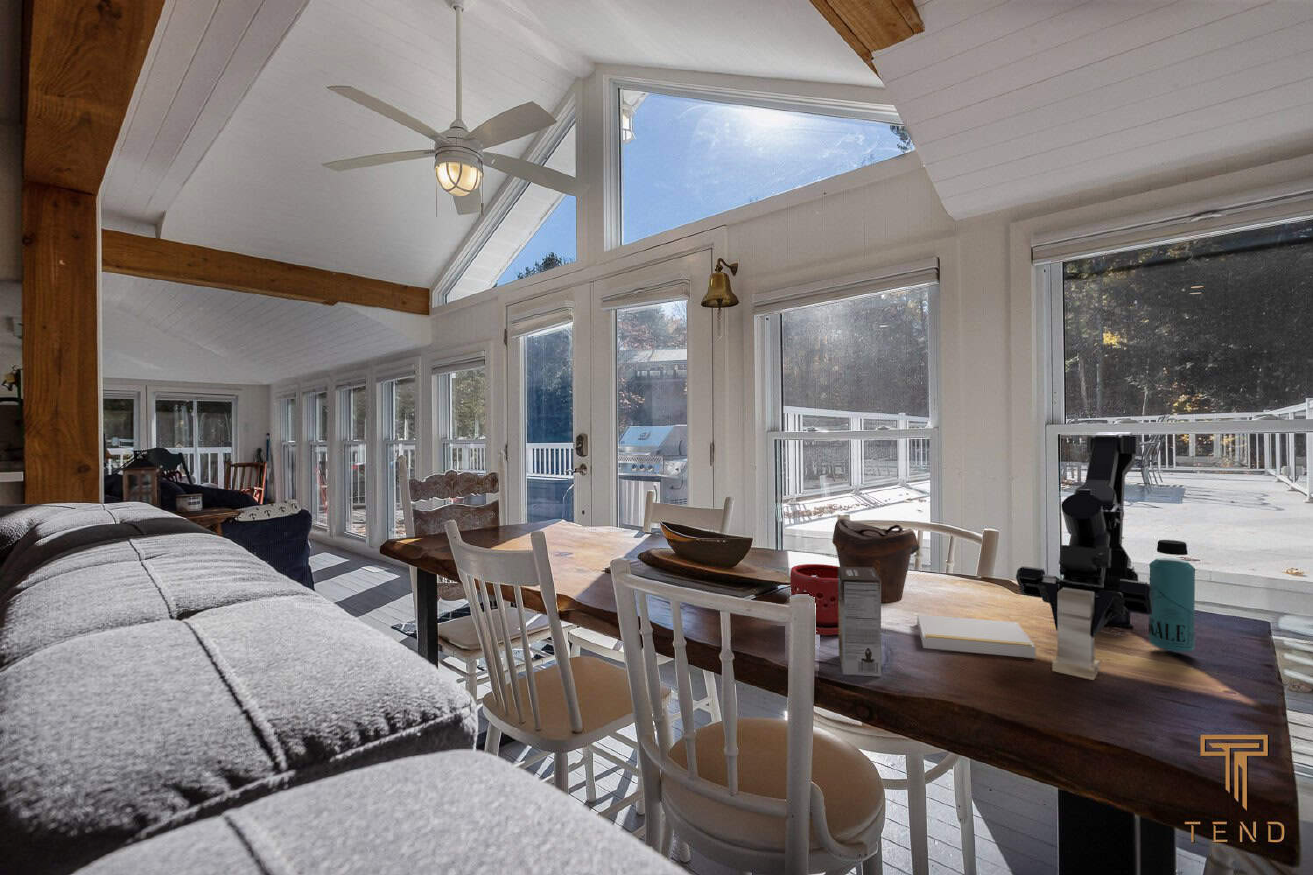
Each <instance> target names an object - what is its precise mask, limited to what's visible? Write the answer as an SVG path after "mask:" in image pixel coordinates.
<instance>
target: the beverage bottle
mask: <svg viewBox="0 0 1313 875" xmlns="http://www.w3.org/2000/svg"><path fill="white" fill-rule="evenodd" d="M1156 546H1157V547H1156V552H1157V553H1160V554H1165V555H1174V556H1187V555H1188V546H1187V542H1185V541H1181V540H1173V539H1160V540H1157V545H1156ZM1148 566H1149V578H1148V580H1149V583H1148V584H1149V585H1150V586H1151V591H1152V598H1153V608H1152V614H1149V617H1148V639H1149V642H1150V644H1151V645H1152V646H1155V647H1158V648H1160V649H1165V650H1169V651H1175V652H1192V651H1194V650H1195V647H1196V643H1197V642H1196V614H1195V608H1196V607H1195V601H1196V600H1195V598H1196V597H1195V593H1196V589H1195V588H1196V587H1195V586H1196V585H1195V584H1196V577H1195V576H1196V568H1195V567H1194V566H1193V565H1192V564H1191V563H1190V562H1189V561H1188V560H1184V559H1179V558H1173V557H1158V558H1156V559H1154V560H1153V561H1151V562H1150V563H1149V564H1148Z"/></svg>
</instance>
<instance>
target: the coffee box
mask: <svg viewBox="0 0 1313 875" xmlns="http://www.w3.org/2000/svg"><path fill="white" fill-rule="evenodd" d="M838 620H839V634H838V655H839V660H840V665H841V671H842V674H843V675H845V676H846V675H847V676H866V677H876V678H877V677H882V602H881V580H880V578H879V576H878V574H877V572H876V570H875V568H874V567H840V566H838Z"/></svg>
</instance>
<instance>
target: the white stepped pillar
mask: <svg viewBox="0 0 1313 875" xmlns="http://www.w3.org/2000/svg"><path fill="white" fill-rule="evenodd" d="M1094 613H1095V592H1093V591H1086V590H1079V589H1072V588H1065V587H1063V588H1062V589H1061V590H1060V591H1059V592H1058V593H1057V616H1058V631H1057V655H1056V657H1055V658H1054V659H1053V661H1052V671H1053V672H1055V673H1056V672H1057V673H1061V674H1064V675H1068V676H1073V677H1077V678H1082V679H1087V680H1092V681H1094V680H1095V679H1096V677H1097V675H1098V673H1099V672H1100V670H1101V667H1100V666H1101V665H1100V663H1101V662H1100V660H1098V659H1095V658H1096V657H1095V652H1096V651H1095V650H1096V649H1095V647H1096V645H1095V642H1096V641H1095V637H1096V636H1095V637H1094V638H1093V637H1091V635H1090V631H1091V624H1092V620H1093V617H1094Z"/></svg>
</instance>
